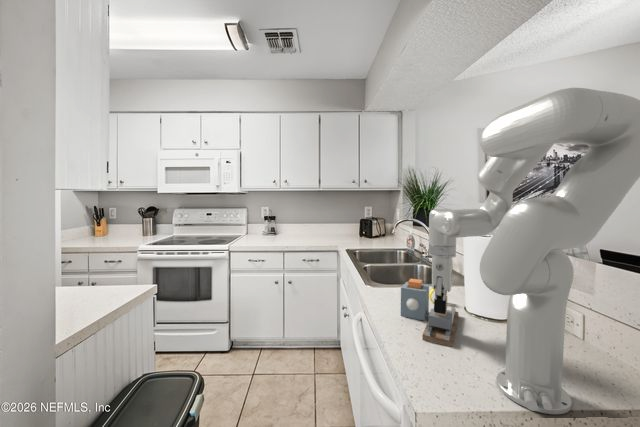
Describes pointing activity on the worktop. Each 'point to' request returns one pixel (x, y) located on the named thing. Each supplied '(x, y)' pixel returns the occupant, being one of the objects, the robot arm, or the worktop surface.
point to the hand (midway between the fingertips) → (440, 309)
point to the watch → (430, 294)
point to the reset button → (415, 283)
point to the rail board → (442, 332)
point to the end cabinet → (415, 302)
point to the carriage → (440, 318)
